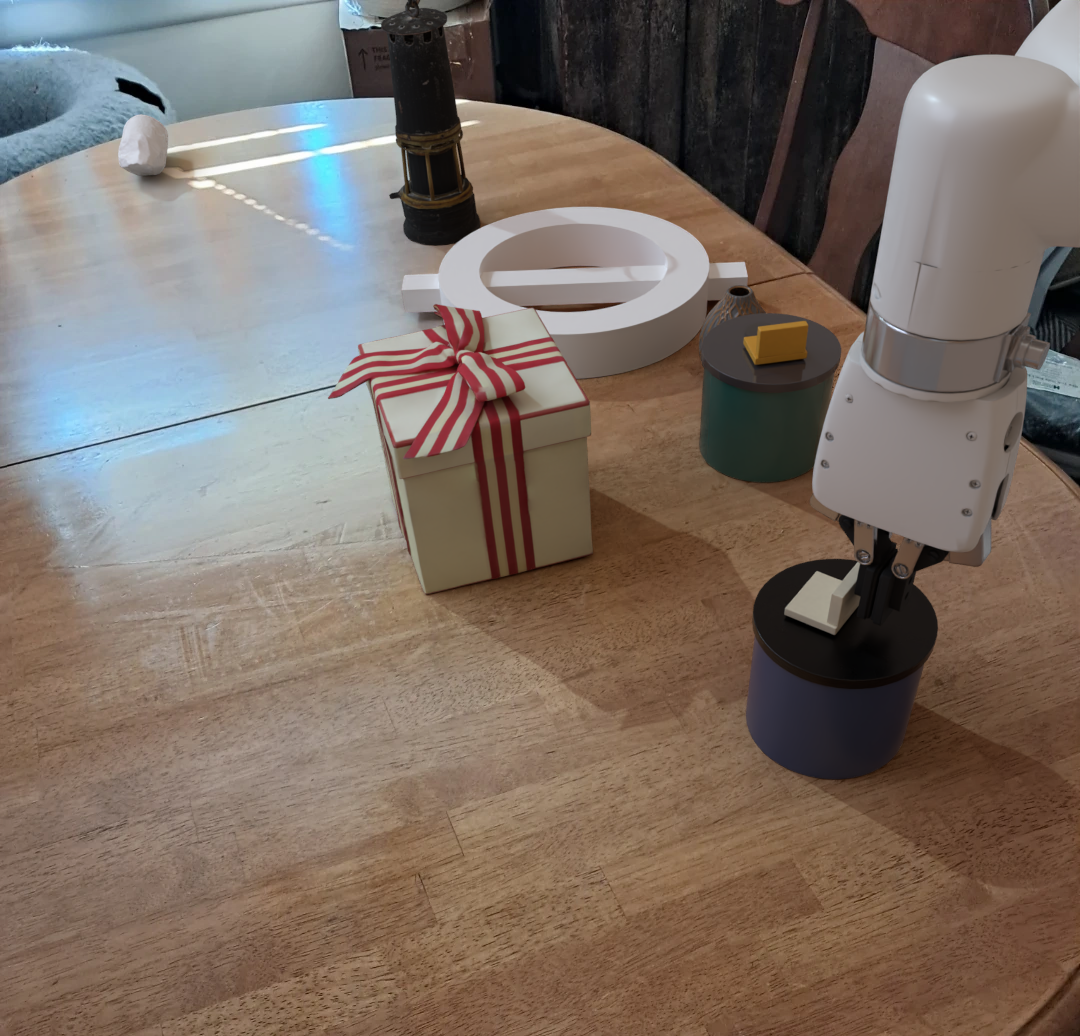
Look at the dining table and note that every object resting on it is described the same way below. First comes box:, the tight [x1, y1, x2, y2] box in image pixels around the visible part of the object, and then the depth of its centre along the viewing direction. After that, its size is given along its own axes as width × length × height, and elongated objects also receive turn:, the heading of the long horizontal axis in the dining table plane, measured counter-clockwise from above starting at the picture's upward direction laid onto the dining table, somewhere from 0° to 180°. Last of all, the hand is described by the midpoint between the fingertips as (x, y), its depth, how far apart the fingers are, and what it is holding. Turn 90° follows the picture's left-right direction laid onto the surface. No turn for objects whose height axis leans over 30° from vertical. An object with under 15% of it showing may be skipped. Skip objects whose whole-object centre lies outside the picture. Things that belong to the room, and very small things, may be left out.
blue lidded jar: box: [745, 558, 939, 780], centre depth 77 cm, size 12×12×10 cm
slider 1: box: [743, 321, 808, 365], centre depth 95 cm, size 4×4×3 cm
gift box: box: [327, 304, 594, 595], centre depth 91 cm, size 17×18×17 cm
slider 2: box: [784, 562, 860, 635], centre depth 73 cm, size 4×4×3 cm
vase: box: [698, 285, 767, 369], centre depth 109 cm, size 7×7×9 cm
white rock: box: [117, 114, 169, 176], centre depth 151 cm, size 6×12×6 cm, turn 10°
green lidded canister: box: [698, 312, 842, 483], centre depth 100 cm, size 12×12×10 cm
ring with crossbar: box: [401, 206, 749, 380], centre depth 121 cm, size 28×28×5 cm
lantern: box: [380, 0, 481, 246], centre depth 127 cm, size 9×9×30 cm
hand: (878, 608), depth 72 cm, fingers closed
